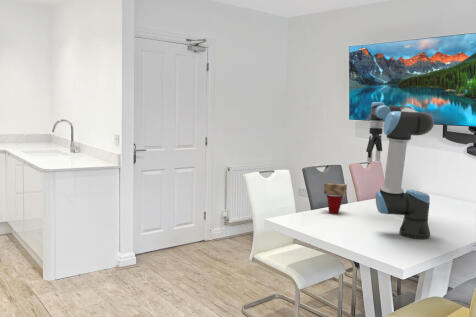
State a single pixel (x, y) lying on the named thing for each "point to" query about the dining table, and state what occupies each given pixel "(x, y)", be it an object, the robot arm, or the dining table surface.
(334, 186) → the brown wooden block
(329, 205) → the plastic cup
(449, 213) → the dining table surface
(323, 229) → the dining table surface
